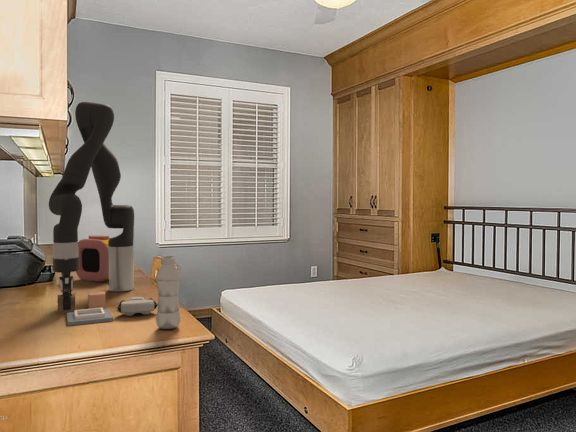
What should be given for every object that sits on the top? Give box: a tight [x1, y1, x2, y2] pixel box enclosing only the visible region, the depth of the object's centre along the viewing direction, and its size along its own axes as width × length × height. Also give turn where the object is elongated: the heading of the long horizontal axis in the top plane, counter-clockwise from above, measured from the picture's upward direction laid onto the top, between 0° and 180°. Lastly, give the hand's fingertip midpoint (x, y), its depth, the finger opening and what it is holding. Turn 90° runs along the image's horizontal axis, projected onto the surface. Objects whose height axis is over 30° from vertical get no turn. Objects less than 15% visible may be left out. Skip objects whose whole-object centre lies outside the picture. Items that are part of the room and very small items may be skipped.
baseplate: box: [66, 308, 114, 327], centre depth 139 cm, size 12×12×2 cm
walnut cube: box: [57, 293, 76, 315], centre depth 148 cm, size 5×5×5 cm
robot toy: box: [116, 296, 158, 317], centre depth 147 cm, size 12×4×15 cm
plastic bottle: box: [155, 255, 182, 330], centre depth 129 cm, size 6×7×20 cm
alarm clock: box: [75, 234, 111, 283], centre depth 203 cm, size 18×11×19 cm, turn 67°
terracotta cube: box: [87, 290, 107, 309], centre depth 152 cm, size 5×5×5 cm
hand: (66, 306), depth 148 cm, fingers open, 8 cm apart
